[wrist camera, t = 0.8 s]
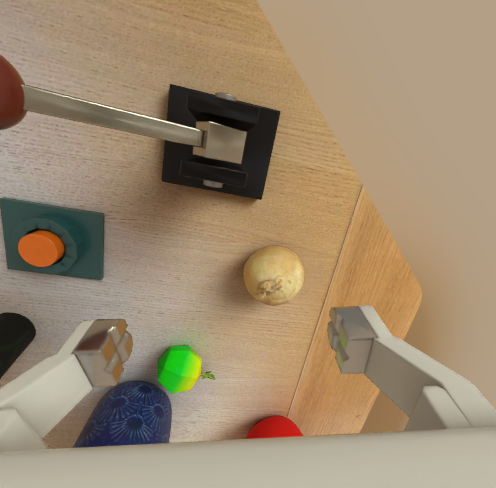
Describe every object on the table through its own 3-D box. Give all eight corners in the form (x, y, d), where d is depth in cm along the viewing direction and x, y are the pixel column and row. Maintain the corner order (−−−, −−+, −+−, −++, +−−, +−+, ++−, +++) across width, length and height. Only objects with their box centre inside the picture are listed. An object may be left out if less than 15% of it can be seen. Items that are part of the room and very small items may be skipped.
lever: (-60, 120, 12) (-104, 118, 9) (-76, 31, 11) (-130, -1, 8) (221, 168, 20) (243, 176, 18) (229, 121, 19) (254, 120, 16)
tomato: (313, 417, 48) (343, 504, 36) (275, 453, 50) (292, 545, 38) (262, 393, 44) (277, 480, 32) (224, 433, 47) (225, 528, 35)
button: (29, 259, 30) (19, 264, 28) (26, 227, 29) (15, 231, 27) (65, 263, 31) (57, 269, 29) (64, 233, 29) (56, 237, 28)
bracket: (164, 180, 30) (116, 202, 17) (172, 87, 27) (122, 19, 13) (259, 197, 32) (288, 231, 18) (277, 113, 29) (329, 77, 15)
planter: (189, 384, 42) (178, 459, 32) (160, 433, 45) (142, 515, 35) (114, 362, 39) (75, 437, 29) (89, 416, 42) (46, 500, 32)
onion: (283, 229, 34) (298, 248, 28) (305, 274, 37) (324, 301, 30) (231, 256, 35) (234, 281, 28) (257, 299, 37) (265, 330, 31)
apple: (147, 390, 32) (213, 407, 34) (167, 339, 34) (227, 357, 36) (148, 381, 38) (203, 395, 40) (164, 338, 41) (216, 353, 43)
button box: (11, 266, 32) (-5, 275, 30) (3, 197, 29) (-15, 201, 27) (103, 277, 34) (94, 287, 32) (104, 213, 31) (94, 218, 29)
